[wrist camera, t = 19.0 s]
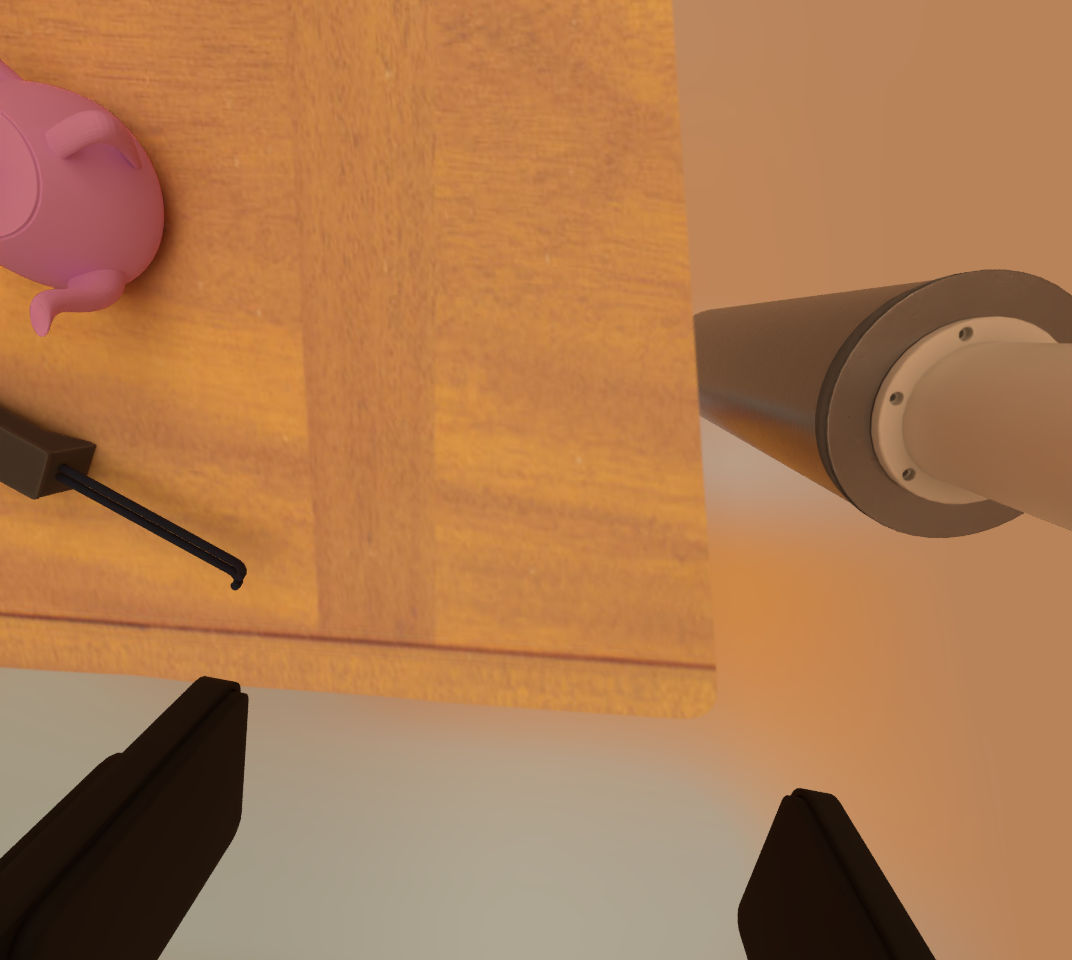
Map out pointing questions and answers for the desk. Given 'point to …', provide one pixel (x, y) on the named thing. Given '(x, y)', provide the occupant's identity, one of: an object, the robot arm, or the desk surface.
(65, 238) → the teapot
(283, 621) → the desk surface
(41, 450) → the hook tool
